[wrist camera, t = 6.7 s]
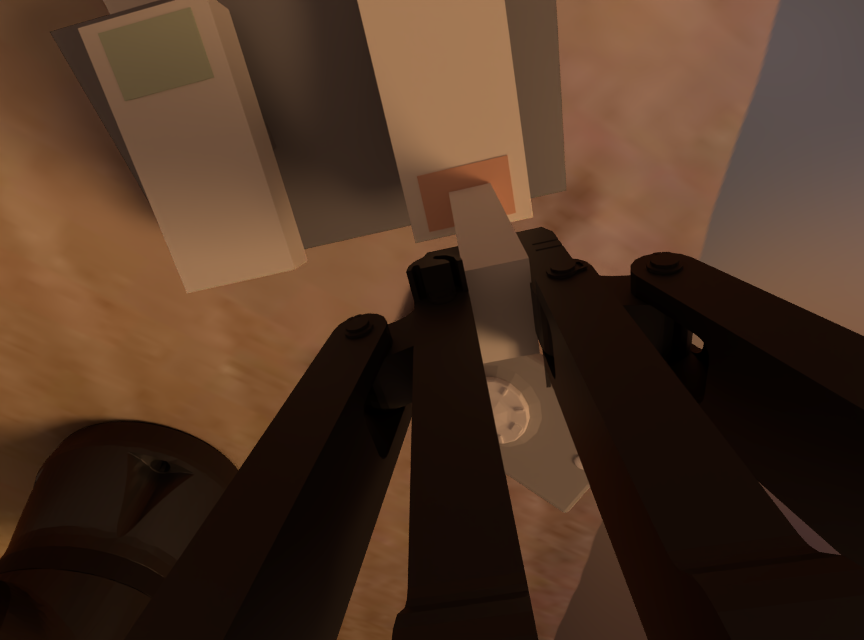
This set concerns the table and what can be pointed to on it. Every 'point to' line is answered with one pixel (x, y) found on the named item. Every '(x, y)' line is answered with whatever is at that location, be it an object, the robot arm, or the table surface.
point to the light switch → (534, 431)
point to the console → (348, 106)
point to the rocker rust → (448, 104)
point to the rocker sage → (197, 140)
